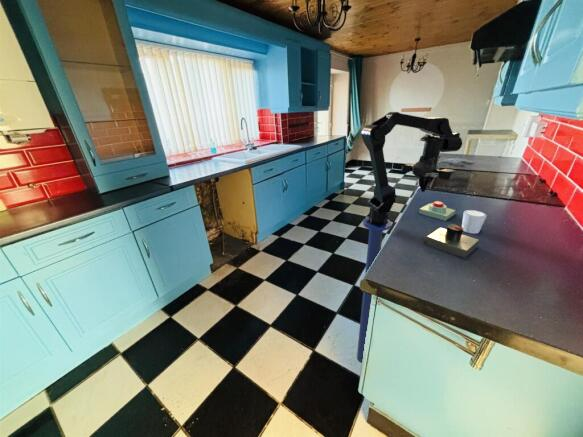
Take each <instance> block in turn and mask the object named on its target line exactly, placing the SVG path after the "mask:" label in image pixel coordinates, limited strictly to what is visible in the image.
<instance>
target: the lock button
mask: <svg viewBox="0 0 583 437" xmlns="http://www.w3.org/2000/svg"><path fill="white" fill-rule="evenodd" d="M433 203H434V204H433V206H434V207H439V208H441V207H443V204H444V202H442V201H438V200H436V201H434V202H433ZM444 205H445V204H444Z"/></svg>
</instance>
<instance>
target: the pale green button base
mask: <svg viewBox="0 0 583 437" xmlns="http://www.w3.org/2000/svg"><path fill="white" fill-rule="evenodd" d="M433 204H434V202H431V203H428V204H425V205H424V206H422V207H419V210H418V214H420V215H423V216H427V217H430V218H434V219H437V220H441V221H443V222H446V221H447V220H449V219H450V218H452V217H453V216H455V213H456V209H452V208H448V206H447V205H446V204H443V207H441V208H439V207H434V206H433Z"/></svg>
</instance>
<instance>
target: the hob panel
mask: <svg viewBox="0 0 583 437" xmlns="http://www.w3.org/2000/svg"><path fill="white" fill-rule="evenodd" d="M446 230H447V228H443V227H439V228H437V229H436V230H435V231H433V232H432V233H430V234H429V235H427V236H426V240H425V245H427V246H430V247H433V248H435V249H438V250H439V251H443V252H446V253H448V254H450V255H454V256H456V257H458V258H462V259H465V258H467V257H468V256H469V255H470V254H471V253H473V251H474V250H475V249H476V248H478V244H479V241H480V239H478V238H475V237H473V236H472V237H471V236H469V235H465V234H462V236H461V239H460V240H459V241H451V240H448V239H447V238H445V234H446Z"/></svg>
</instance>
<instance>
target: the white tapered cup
mask: <svg viewBox="0 0 583 437" xmlns="http://www.w3.org/2000/svg"><path fill="white" fill-rule="evenodd" d="M486 219H487V214H486V213H485V212H483V211H480V210H477V209H476V210H475V209H466V210H464V211H463V215H462V222H461V227H462V228H463V232H465V233H468V234H479V233H480V231H481V229H482V227H483V225H484V223H485V221H486Z"/></svg>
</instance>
